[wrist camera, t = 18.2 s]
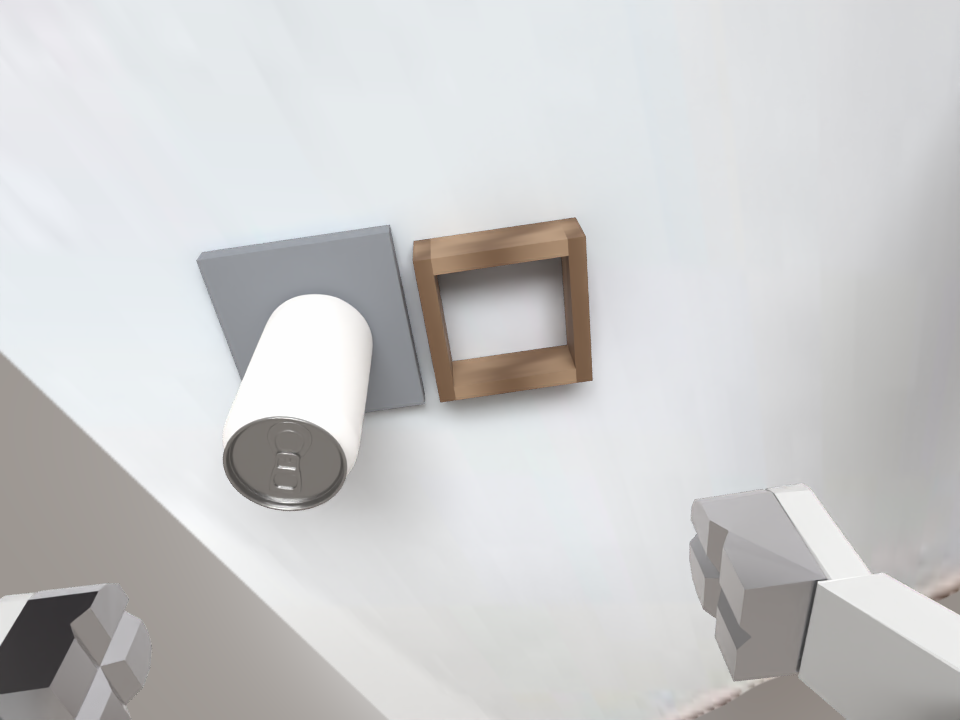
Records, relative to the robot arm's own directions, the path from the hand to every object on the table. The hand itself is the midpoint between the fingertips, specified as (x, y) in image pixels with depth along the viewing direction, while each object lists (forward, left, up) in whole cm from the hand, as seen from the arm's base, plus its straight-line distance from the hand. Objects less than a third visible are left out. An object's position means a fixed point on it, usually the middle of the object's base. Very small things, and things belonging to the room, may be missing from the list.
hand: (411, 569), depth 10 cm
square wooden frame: (-3, +12, -31) cm, 33 cm away
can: (+8, +12, -30) cm, 33 cm away
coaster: (+8, +12, -31) cm, 34 cm away
